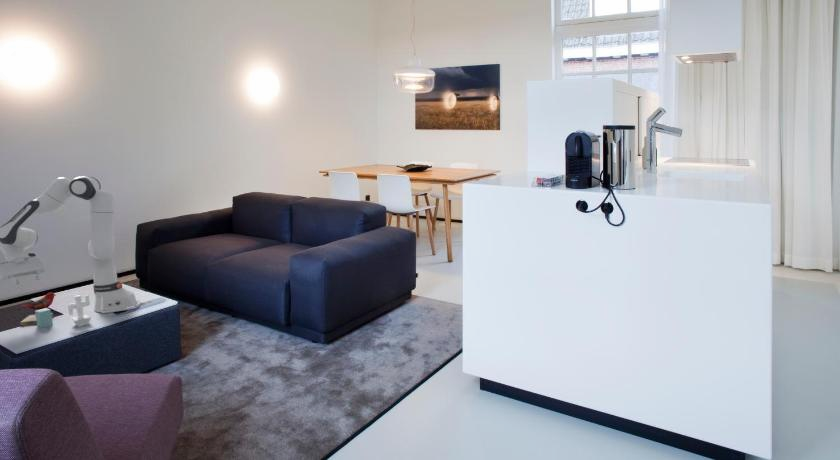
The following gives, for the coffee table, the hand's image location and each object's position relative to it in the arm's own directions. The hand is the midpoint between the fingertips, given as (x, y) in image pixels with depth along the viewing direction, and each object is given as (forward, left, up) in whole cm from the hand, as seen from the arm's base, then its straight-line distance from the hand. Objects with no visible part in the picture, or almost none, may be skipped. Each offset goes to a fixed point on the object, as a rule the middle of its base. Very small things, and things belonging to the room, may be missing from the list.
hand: (27, 281), depth 284 cm
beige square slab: (-2, +1, -21) cm, 21 cm away
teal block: (-8, +10, -21) cm, 25 cm away
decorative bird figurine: (+3, -15, -21) cm, 26 cm away
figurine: (-26, +15, -21) cm, 37 cm away
